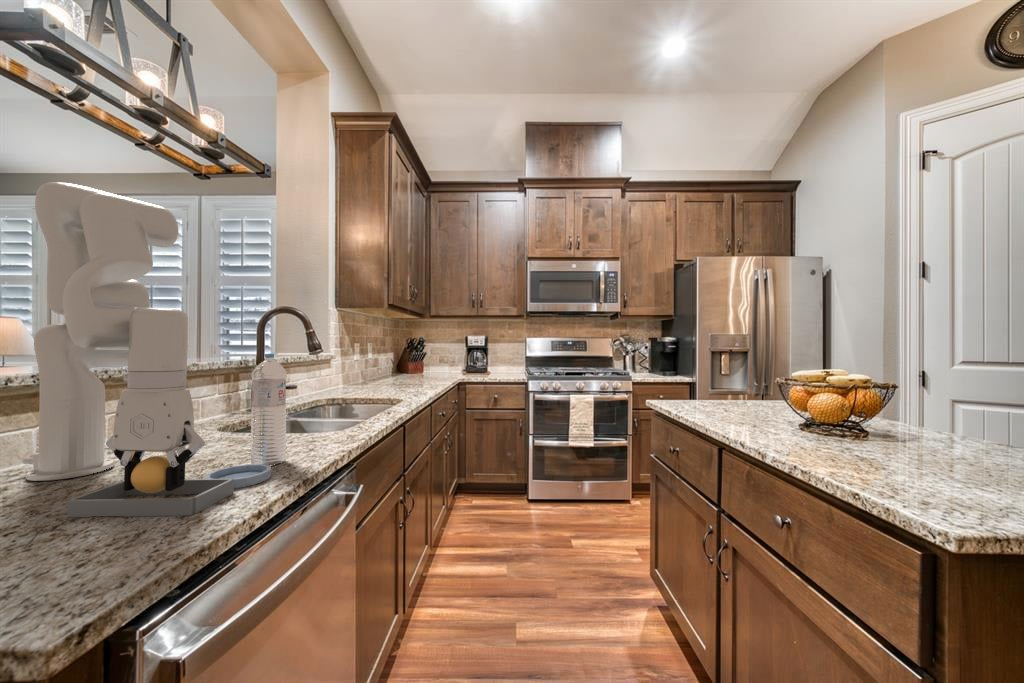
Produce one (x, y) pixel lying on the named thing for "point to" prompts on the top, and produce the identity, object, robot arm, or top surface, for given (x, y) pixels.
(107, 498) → the shallow grey tray
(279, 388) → the water bottle
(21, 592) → the top surface
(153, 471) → the yellow-orange oval ball
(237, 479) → the dish
